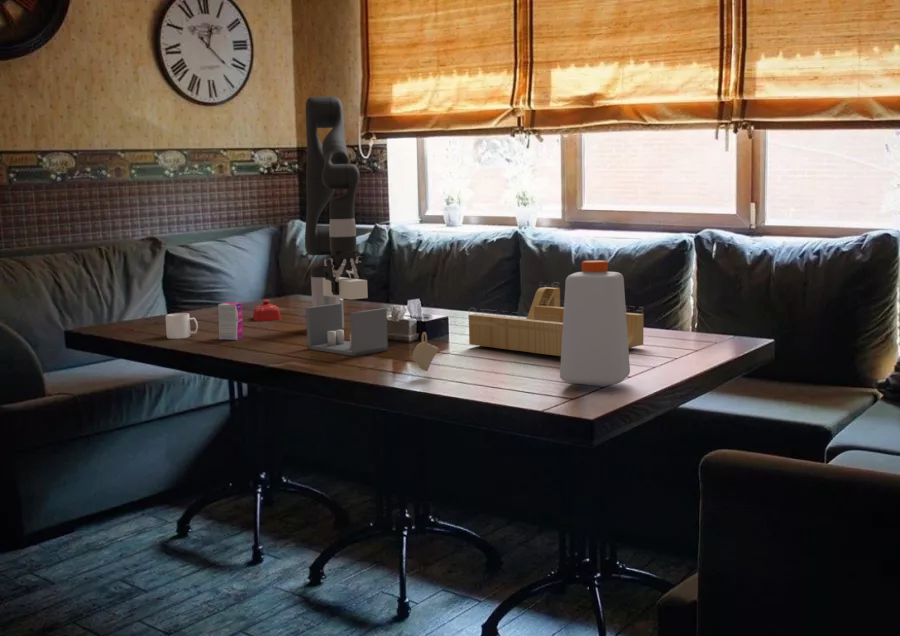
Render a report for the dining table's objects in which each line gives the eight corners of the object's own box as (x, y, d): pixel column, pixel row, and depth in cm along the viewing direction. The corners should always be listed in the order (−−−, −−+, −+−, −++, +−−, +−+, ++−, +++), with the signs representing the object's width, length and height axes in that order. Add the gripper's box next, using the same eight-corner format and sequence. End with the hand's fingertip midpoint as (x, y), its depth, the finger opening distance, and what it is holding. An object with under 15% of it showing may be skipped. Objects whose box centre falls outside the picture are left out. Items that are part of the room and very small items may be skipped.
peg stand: (307, 348, 295) (305, 307, 293) (339, 343, 303) (338, 303, 301) (355, 356, 280) (353, 313, 278) (387, 350, 288) (386, 308, 286)
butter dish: (286, 325, 348) (284, 300, 347) (252, 327, 345) (250, 302, 343) (281, 320, 359) (280, 297, 358) (248, 322, 355) (247, 298, 354)
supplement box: (236, 341, 312) (234, 304, 310) (218, 341, 313) (216, 304, 311) (244, 338, 317) (242, 302, 316) (226, 338, 318) (224, 302, 317)
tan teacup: (415, 366, 257) (404, 359, 253) (431, 338, 258) (420, 330, 254) (426, 372, 255) (415, 364, 251) (443, 343, 256) (432, 335, 252)
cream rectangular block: (367, 297, 284) (367, 280, 284) (350, 299, 281) (349, 281, 281) (340, 293, 297) (339, 276, 297) (323, 295, 294) (322, 278, 294)
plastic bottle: (555, 383, 236) (554, 263, 232) (571, 371, 250) (571, 258, 246) (620, 386, 231) (620, 264, 227) (633, 374, 244) (633, 258, 241)
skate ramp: (468, 347, 291) (467, 292, 289) (545, 332, 317) (545, 281, 314) (581, 362, 264) (580, 301, 262) (655, 344, 289) (656, 288, 287)
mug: (198, 335, 326) (197, 312, 325) (198, 339, 319) (196, 315, 318) (167, 337, 324) (165, 313, 323) (166, 340, 317) (164, 316, 316)
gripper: (331, 236, 279) (333, 297, 282) (370, 233, 289) (372, 292, 292) (314, 236, 285) (316, 295, 287) (353, 233, 295) (355, 291, 297)
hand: (345, 293), depth 289 cm, fingers closed on cream rectangular block, 6 cm apart
